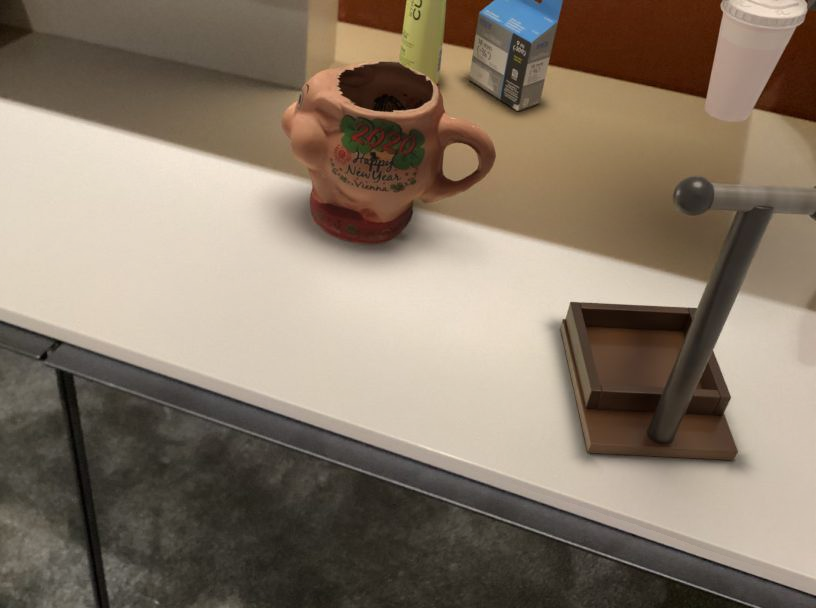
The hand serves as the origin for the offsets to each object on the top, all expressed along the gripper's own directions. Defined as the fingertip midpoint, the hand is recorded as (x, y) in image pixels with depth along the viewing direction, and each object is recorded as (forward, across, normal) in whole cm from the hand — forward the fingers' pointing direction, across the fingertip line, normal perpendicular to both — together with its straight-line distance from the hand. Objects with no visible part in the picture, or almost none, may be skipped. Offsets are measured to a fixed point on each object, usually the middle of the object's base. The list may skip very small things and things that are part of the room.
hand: (771, 0), depth 74 cm
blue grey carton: (-2, -19, +36) cm, 41 cm away
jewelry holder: (+31, -4, +3) cm, 32 cm away
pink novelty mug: (+19, -29, +15) cm, 37 cm away
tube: (-2, -29, +36) cm, 46 cm away
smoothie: (+6, 0, +9) cm, 11 cm away
